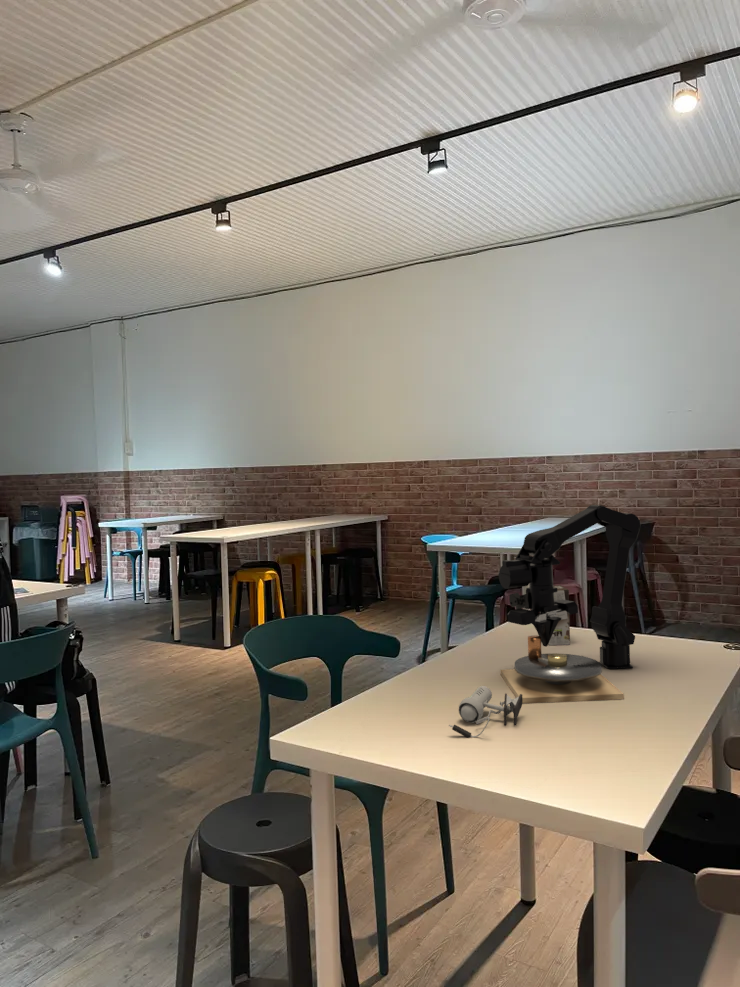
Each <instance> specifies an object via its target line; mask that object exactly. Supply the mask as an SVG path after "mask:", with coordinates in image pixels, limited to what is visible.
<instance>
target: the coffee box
mask: <svg viewBox="0 0 740 987" xmlns="http://www.w3.org/2000/svg"><path fill="white" fill-rule="evenodd" d="M553 587H555V588H557V592H554V601H557V600H561V599H562V600H568V601H570V590H569V589H568V588H566V587H565V586H563V585H561V584H559V585H553ZM557 617H560V618H561V620H560V621H559V622H558V624H557V626H556V628H555V630H554V632H553V634H552V636H551V639H550V641H549V643H548V646H569V645H571V632H570V630H571V629H570V627H571V625H570V614H568V613H567V611H562V612H557Z"/></svg>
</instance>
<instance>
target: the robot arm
mask: <svg viewBox="0 0 740 987" xmlns="http://www.w3.org/2000/svg"><path fill="white" fill-rule="evenodd" d="M596 524H597V525H600V527H601V526H602V527H604V528H605V536H606V539H607V543H608V544H609V545H608V546H609V549H608V556H607V564H606V568H605V570H606V571H605V577H604V584H603V590H602V598H601V601H600V603H599V604H598V605H597V606H594V605H593V606H592V608H591V617H590V619H589V622H590V623H591V629H592V631H593V632H594V633H595V635H596V638H597V640H599V641H601V646H600V647H599V662H600V663H601V665H602V667H604V668H606V669H607V670H614V669H617V670H618V669H633V667H634V666H633V665H632V664H631V649H630V648H631V647H630V645H634V644H635V639H636V635H635V634H634V633H633V632H632V631H631V630H630V629H629V628H628V627H627V616H626V612H625V610H624V607H623V599H624V591H625V584H626V578H627V571H628V570H627V569H628V563H629V556H630V551H631V547H632V546H633V545H634V544H635V542H636V541H637V539H638V538H639V537H638V536H639V533H640V530H641V520H640V519H639V518H638V516H637V515H636V514H634V513H626V512H621V511H618V510H613V509H611V508H609V507H606V506H605V505H601V504H600V505H599V504H592V505H588V507H586V508H585V509H583V510H582V511H580V512H578V513H576V514H573V515H572V516H571V517H569V518H567V519H565V520H563V521H561V522H560V523H558V524H557V525H554V526H551V527H549V528H544V529H539V530H536V531H533V532H530V533H528V534H526V536H525V537H524V539H523V544H522V546H521V548H520V549H519V552H518V553H517V555H516V557H515V559H512V560H509V559H508V560H507V559H506V560H502V562H501V566H500V568H499V572H498V580H499V583H500V585H501V587H502V588H503V589H505V590H507V589H508V590H509V589H514V588H515V589H516V588H523V587H526V589H525V594H521V595H520V593H519V592H514V593H510V594H509V605H510V607H512V608H515V609H511V610H509V612H508V613H507V622H508V623H511V624H515V625H519V626H520V625H521V626H528V625H533V627H534V628H535V630H536V633H537V636H540V637H541V645H542V646H543V647H548V646H549V644H548V643H549V641H550V639H551V636H552V634H553V632H554V630H555V628H556V626H557V624H558V622H559V621H560V620H561V618H560V617H557V612H562V611H567V613H568V614H569V616H570V615H575V614H578V613H579V609H578V608H579V607H578V604H577V603H576V602H575V601H573V600H569V601H568V600H562V599H561V600H557V601H554V592H557V588H555V587H553V586H554V575H553V574H554V573H553V572H554V571H553V566H556V565H560V564H561V561H560V560H558V559H557V558H556V557H555V556H554V554H555V553H556V552H557V551H559V549H561V547H562V545H563V544H564V543H565V542H566V541H568V540H571V539H572V538H573V537H575V536H577V535H579V534H580V533H582V532H584V531H586V530H587V529H589V528H591V527H593V526H595V525H596ZM527 586H529V587H527Z"/></svg>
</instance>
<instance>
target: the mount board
mask: <svg viewBox="0 0 740 987" xmlns="http://www.w3.org/2000/svg"><path fill="white" fill-rule="evenodd" d="M499 672H500V676H501V677H502V679H503V680H504V682H505V683H506V685H507V686H508V688H509V689H510V691H512V694H513V695H514V696H515V698H517V697H519V696H520V694H522V704H537V703H542V704H543V703H557V702H558V703H562V702H565V703H566V702H567V703H568V702H585V701H587V702H588V701H611V700H614V701H615V700H624V699H625V694H624V693H623V692H622V691H621V690H620V689H619V688H618V687H617V686H616V685H614V684H613V683H612V682H611V681H609V680H608V679H607V678H606V677H605V676H604V675H602V673H601V674H600V675H599V676H597V677H594V678H591V679H587V680H581V681H566V682H560V681H545V680H538V679H533V678H529V677H526V676H523V675H521V674H519V673H517V672H516V671H515V668H512V669H511V668H509V669H508V668H505V669H500V670H499Z"/></svg>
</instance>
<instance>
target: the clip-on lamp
mask: <svg viewBox="0 0 740 987" xmlns="http://www.w3.org/2000/svg"><path fill="white" fill-rule="evenodd" d="M492 697H493V693H492V690H491V689H490V688H489V687H488V686H486V685H480V686H478V687H477V689H475V691H474V692H473V693H472V694H471V696H470V697H469V696H468V697H465V698H463V699H462V700H461V701H460V702H459V705H458V714H459V715H460V717H461V719H462V720H463V721H465V722H467V723H473V724H475V723H476V725H477V724H481V723H483V722H486V721H487V722H486V723H485V726H484V728H483V729H482V730H481V731H480V732H479V733H478V734H477V735H472V732H470V731H468V730H466V729H465V728H462V727H460V726H459V725H456V724H454V725H451V724H449V725H448V727H450V728H451V730H452V731H454V732H456V733H458V734H460V735H461V736H464V737H466V738H468V739H470V738H478V737H479V736H480V735H482V733H483V732H484V731H485V729H486V728H487V726H488V725H489V722H490V719H491V718H490V717H491V713H492V714H494V715H498V714H501V712H503V725H504V726H507V720H508V719H507V717H508V716H509V715H510V714H511V713H512V715H513V726H516V725H517V721H518V718H519V714H520V711H521V710H522V706H523V703H522V694H520V696H519V697H517V698H516V697H515V698H512V697H510V695H508V693H504V701H499V705H498V704H493V703H489V702H490V701H491V700H492ZM486 707H487V709H490V710H489V711H488V715H487V716H484V708H486ZM483 716H484V717H483Z"/></svg>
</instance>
